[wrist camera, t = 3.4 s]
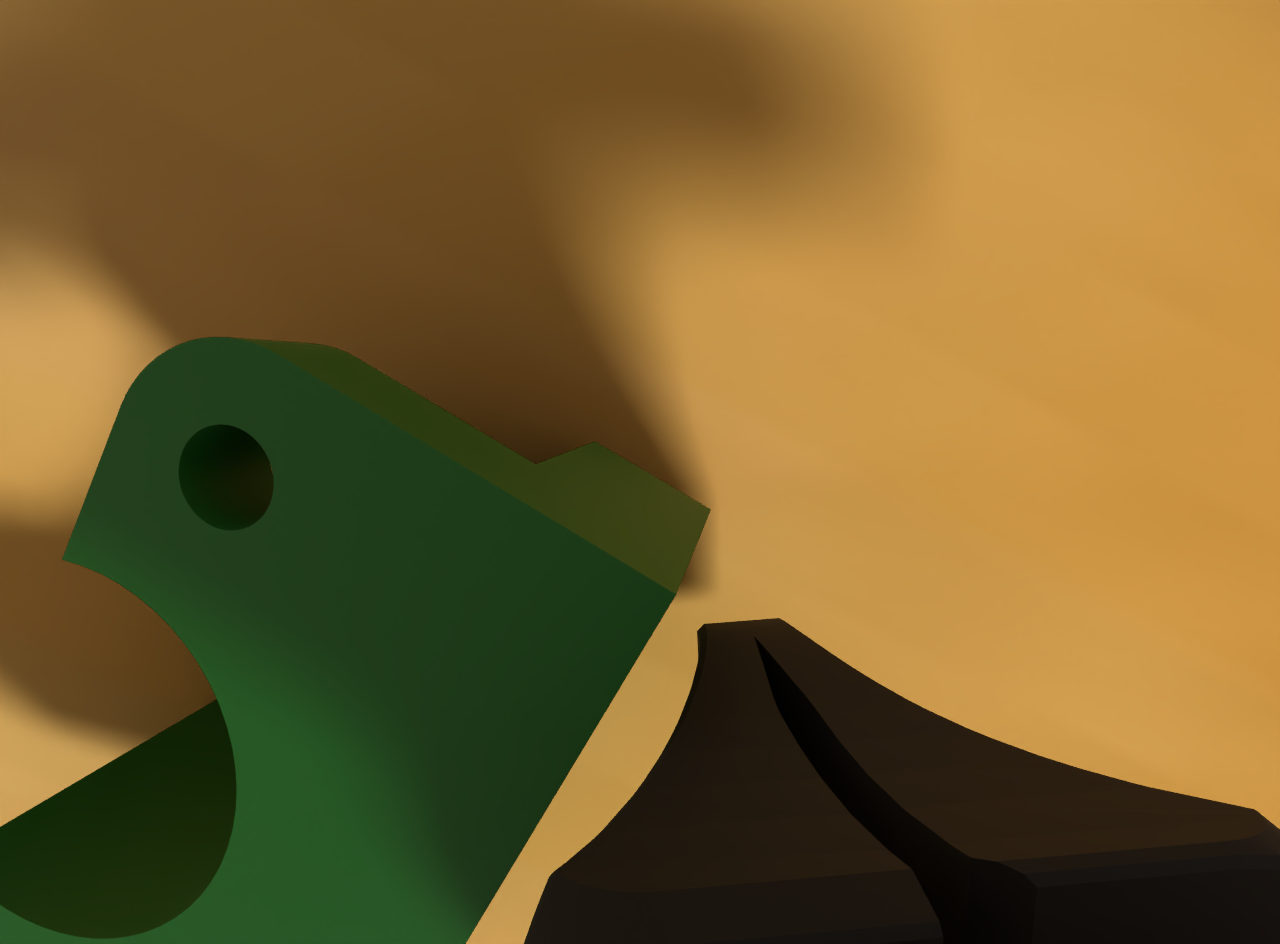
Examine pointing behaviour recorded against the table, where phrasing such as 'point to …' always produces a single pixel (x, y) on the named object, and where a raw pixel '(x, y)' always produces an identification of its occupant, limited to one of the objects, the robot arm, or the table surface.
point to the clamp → (340, 656)
